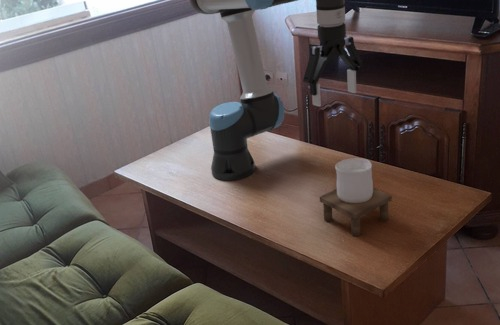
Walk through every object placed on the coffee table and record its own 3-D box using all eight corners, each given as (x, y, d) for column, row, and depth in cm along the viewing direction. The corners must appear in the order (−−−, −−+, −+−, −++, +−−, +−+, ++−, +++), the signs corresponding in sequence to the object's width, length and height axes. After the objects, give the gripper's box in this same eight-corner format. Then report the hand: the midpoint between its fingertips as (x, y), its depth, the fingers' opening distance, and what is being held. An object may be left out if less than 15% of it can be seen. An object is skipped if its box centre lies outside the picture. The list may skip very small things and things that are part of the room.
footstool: (320, 219, 171) (319, 196, 168) (355, 202, 178) (355, 180, 175) (356, 238, 160) (355, 214, 157) (391, 219, 167) (391, 195, 164)
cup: (380, 198, 163) (379, 166, 159) (348, 208, 160) (347, 176, 156) (361, 184, 172) (360, 154, 167) (330, 194, 168) (329, 163, 164)
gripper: (305, 35, 150) (310, 114, 159) (374, 15, 163) (375, 89, 172) (286, 32, 156) (292, 108, 165) (354, 12, 168) (356, 84, 177)
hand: (334, 98), depth 168 cm, fingers open, 13 cm apart
